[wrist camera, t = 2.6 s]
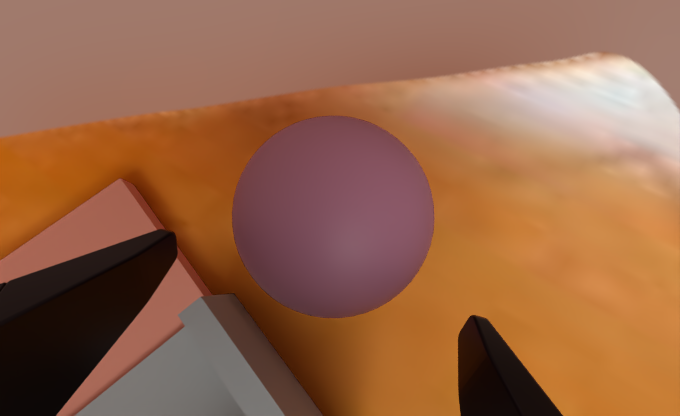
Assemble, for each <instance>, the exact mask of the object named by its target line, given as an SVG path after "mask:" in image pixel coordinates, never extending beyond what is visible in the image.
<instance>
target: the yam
mask: <svg viewBox="0 0 680 416" xmlns="http://www.w3.org/2000/svg"><path fill="white" fill-rule="evenodd" d="M232 225H233V233H234V239H235V243H236V246H237V249H238V253H239V255H240V257H241V259H242V261H243V263H244V265H245V267H246V269H247V270H248V272H249V273H250V275H251V276H252V278H253V279H254V280H255V281H256V283H257V284H258V285H259V286H260V287H261V288H262V289H263V290H264V291H265V292H266V293H267V294H268V295H270V296H271V297H272V298H273V299H275V300H276V301H278V302H279V303H281V304H283V305H284V306H286V307H288V308H291V309H293V310H295V311H297V312H300V313H304V314H307V315H310V316H316V317H322V318H342V317H351V316H355V315H359V314H363V313H366V312H369V311H371V310H374V309H376V308H378V307H380V306H382V305H384V304H385V303H387V302H389V301H390V300H392V299H393V298H394V297H395V296H397V295H398V294H399V293H400V292H402V291H403V289H404V288H405V287H406V286H407V285H408V284H409V283H410V282H411V281H412V279H413V278H414V277H415V275H416V274H417V273H418V271H419V269H420V267H421V266H422V264H423V262H424V260H425V258H426V256H427V253H428V250H429V248H430V245H431V240H432V236H433V230H434V205H433V199H432V194H431V189H430V186H429V183H428V180H427V178H426V176H425V174H424V172H423V169H422V167H421V166H420V164H419V163H418V161H417V160H416V158H415V157H414V156H413V154H412V153H411V152H410V151H409V150H408V148H407V147H406V146H405V145H403V144H402V143H401V142H400V141H399V140H398V139H397V138H396V137H394V136H393V135H392V134H390V133H389V132H387V131H386V130H384V129H382V128H380V127H378V126H377V125H374V124H372V123H369V122H367V121H364V120H360V119H356V118H352V117H345V116H322V117H315V118H310V119H306V120H303V121H300V122H297V123H294V124H292V125H290V126H288V127H286V128H284V129H282V130H281V131H279V132H278V133H276V134H275V135H273V136H272V137H271V138H270V139H268V140H267V141H266V142H265V143H264V144H263V145H262V146H261V147H260V148H259V149H258V150H257V151H256V152H255V154H254V155H253V156H252V158H251V159H250V161H249V162H248V163H247V165H246V167H245V169H244V171H243V172H242V174H241V177H240V179H239V182H238V184H237V187H236V191H235V196H234V201H233V210H232Z"/></svg>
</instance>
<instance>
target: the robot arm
mask: <svg viewBox="0 0 680 416" xmlns="http://www.w3.org/2000/svg"><path fill="white" fill-rule="evenodd" d="M177 255H178V249H177V240H176V235H175V233H174V232H172V231H168V230H165V229H158V230H155V231H152V232H149V233H146V234H143V235H141V236H138V237H135V238H132V239H129V240H126V241H123V242H120V243H117V244H114V245H111V246H109V247H106V248H103V249H100V250H97V251H94V252H91V253H88V254H85V255H82V256H79V257H77V258H74V259H71V260H68V261H65V262H62V263H59V264H56V265H53V266H50V267H47V268H44V269H42V270H39V271H36V272H33V273H30V274H27V275H24V276H21V277H18V278H15V279H12V280H10V281H8V282H7V283H6V282H4V283H1V284H0V416H56V415H57V414H58V413H59V412H60V410H61V409H62V408H63V407H64V405H65V404H66V403H67V402H68V400H69V399H70V398H71V397H72V396H73V394H74V393H75V392H76V391H77V389H78V388H79V387H80V386H81V384H82V383H83V382H84V381H85V379H86V378H87V377H88V376H89V375H90V373H91V372H92V371H93V370H94V368H95V367H96V366H97V365H98V363H99V362H100V361H101V360H102V359H103V357H104V356H105V355H106V354H107V352H108V351H109V350H110V349H111V347H112V346H113V345H114V344H115V343H116V341H117V340H118V339H119V338H120V336H121V335H122V334H123V333H124V331H125V330H126V329H127V328H128V327H129V325H130V324H131V323H132V322H133V320H134V319H135V318H136V317H137V315H138V314H139V313H140V312H141V310H142V309H143V308H144V307H145V305H146V304H147V303H148V301H149V300H150V299H151V297H152V296H153V294H154V293H155V291H156V290H157V288H158V286H159V285H160V283H161V282H162V280H163V279H164V277H165V276H166V274H167V273H168V271H169V270H170V268H171V267H172V265H173V264H174V262H175V260H176V258H177ZM458 391H459V404H460V412H461V416H563V415H562V414H561V412H560V411H559V410H558V409H557V407H556V406H555V405H554V404H553V402H552V401H551V400H550V398H549V397H548V396H547V395H546V393H545V392H544V391H543V389H542V388H541V387H540V386H539V384H538V383H537V382H536V381H535V379H534V378H533V377H532V375H531V374H530V373H529V372H528V370H527V369H526V368H525V366H524V365H523V364H522V363H521V361H520V360H519V359H518V358H517V356H516V355H515V354H514V352H513V351H512V350H511V349H510V347H509V346H508V345H507V343H506V342H505V341H504V340H503V338H502V337H501V336H500V335H499V333H498V332H497V331H496V329H495V328H494V327H493V326H492V324H491V323H490V322H489V321H488V320H487V319H486V318H484V317H480V316H476V315H471V316H470V317H469V318H468V320H467V321H466V323H465V325H464V326H463V328H462V329H461V331H460V333H459V337H458Z"/></svg>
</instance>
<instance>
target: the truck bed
mask: <svg viewBox="0 0 680 416" xmlns="http://www.w3.org/2000/svg"><path fill="white" fill-rule="evenodd" d="M158 229H165V228H164V227H163V225H162V224H161V222H160V221H159V220H158V218H157V217H156V215H155V214H154V213H153V211H152V210H151V208H150V207H149V206H148V204H147V203H146V201H145V200H144V199H143V197H142V196H141V194H140V193H139V192H138V190H137V189H136V187H135V186H134V185H133V184H132V183H130V182H128V181H126V180H123V179H121V178H119V179H118V180H116V181H115V182H114V183H112V184H111V185H109V186H108V187H106V188H105V189H103V190H102V191H100V192H99V193H98V194H96V195H95V196H93V197H92V198H90V199H89V200H87V201H86V202H84V203H83V204H82V205H80V206H79V207H77V208H76V209H74V210H73V211H71V212H70V213H69V214H67V215H66V216H64V217H63V218H61V219H60V220H58V221H57V222H55V223H54V224H53V225H51V226H50V227H48V228H47V229H45V230H44V231H42V232H41V233H40V234H38V235H37V236H35V237H34V238H32V239H31V240H29V241H28V242H26V243H25V244H24V245H22V246H21V247H19V248H18V249H16V250H15V251H13V252H12V253H10V254H9V255H8V256H6V257H5V258H3V259H2V260H0V284H1V283H4V282H6V283H7V282H8V281H10V280H12V279H15V278H18V277H21V276H24V275H27V274H30V273H33V272H36V271H39V270H42V269H44V268H47V267H50V266H53V265H56V264H59V263H62V262H65V261H68V260H71V259H74V258H77V257H79V256H82V255H85V254H88V253H91V252H94V251H97V250H100V249H103V248H106V247H109V246H111V245H114V244H117V243H120V242H123V241H126V240H129V239H132V238H135V237H138V236H141V235H143V234H146V233H149V232H152V231H155V230H158ZM165 230H166V229H165ZM177 249H178V255H177V258H176V260H175V262H174V264H173V265H172V267H171V268H170V270H169V271H168V273H167V274H166V276H165V277H164V279H163V280H162V282H161V283H160V285H159V286H158V288H157V290H156V291H155V293H154V294H153V296H152V297H151V299H150V300H149V301H148V303H147V304H146V305H145V307H144V308H143V309H142V310H141V312H140V313H139V314H138V315H137V317H136V318H135V319H134V320H133V322H132V323H131V324H130V325H129V327H128V328H127V329H126V330H125V331H124V333H123V334H122V335H121V336H120V338H119V339H118V340H117V341H116V343H115V344H114V345H113V346H112V347H111V349H110V350H109V351H108V352H107V354H106V355H105V356H104V357H103V359H102V360H101V361H100V362H99V363H98V365H97V366H96V367H95V368H94V370H93V371H92V372H91V373H90V375H89V376H88V377H87V378H86V379H85V381H84V382H83V383H82V384H81V386H80V387H79V388H78V389H77V391H76V392H75V393H74V394H73V396H72V397H71V398H70V399H69V400H68V402H67V403H66V404H65V405H64V407H63V408H62V409H61V410H60V412H59V413H58V414H57V415H56V416H323V414H322V413H321V412H320V410H319V409H318V408H317V406H316V405H315V404H314V402H313V401H312V399H311V398H310V397H309V395H308V394H307V393H306V391H305V390H304V388H303V387H302V386H301V384H300V383H299V382H298V380H297V379H296V378H295V376H294V375H293V373H292V372H291V371H290V369H289V368H288V367H287V365H286V364H285V363H284V361H283V360H282V358H281V357H280V356H279V354H278V353H277V352H276V350H275V349H274V348H273V346H272V345H271V343H270V342H269V341H268V339H267V338H266V337H265V335H264V334H263V332H262V331H261V330H260V328H259V327H258V326H257V324H256V323H255V322H254V320H253V319H252V317H251V316H250V315H249V313H248V312H247V311H246V309H245V308H244V307H243V305H242V304H241V302H240V301H239V300H238V298H237V297H236V296H235V294H223V295H212V294H211V292H210V291H209V289H208V288H207V287H206V285H205V284H204V283H203V281H202V280H201V278H200V277H199V276H198V274H197V273H196V271H195V270H194V269H193V267H192V266H191V264H190V263H189V262H188V260H187V259H186V257H185V256H184V255H183V253H182V252H181V250H180V249H179V248H178V246H177Z"/></svg>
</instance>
